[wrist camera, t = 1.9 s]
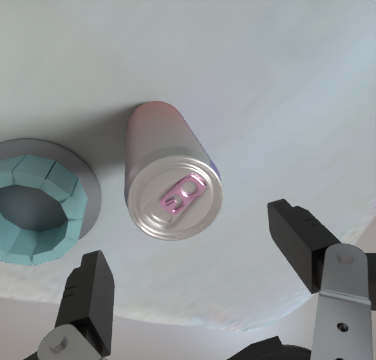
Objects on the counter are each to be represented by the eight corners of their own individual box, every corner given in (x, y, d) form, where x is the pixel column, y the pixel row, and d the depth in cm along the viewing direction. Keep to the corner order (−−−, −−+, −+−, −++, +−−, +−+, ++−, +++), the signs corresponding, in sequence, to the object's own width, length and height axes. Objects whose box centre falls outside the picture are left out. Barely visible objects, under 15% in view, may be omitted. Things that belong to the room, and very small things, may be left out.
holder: (-62, 157, 27) (-96, 179, 23) (75, 123, 28) (65, 139, 24) (6, 258, 33) (-12, 290, 29) (116, 228, 34) (115, 255, 30)
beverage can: (195, 128, 31) (246, 198, 17) (156, 166, 32) (175, 259, 18) (155, 86, 28) (179, 131, 15) (114, 129, 29) (101, 206, 16)
